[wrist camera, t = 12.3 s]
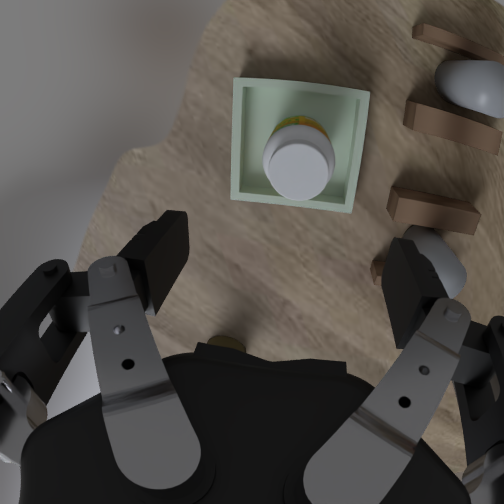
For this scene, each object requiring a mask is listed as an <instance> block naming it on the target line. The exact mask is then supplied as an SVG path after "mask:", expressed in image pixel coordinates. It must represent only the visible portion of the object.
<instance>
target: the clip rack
mask: <svg viewBox="0 0 504 504" xmlns="http://www.w3.org/2000/svg"><path fill="white" fill-rule="evenodd" d="M412 38H414V39H417V40H420V41H424V42H427V43H430V44H433V45H436V46H439V47H442V48H445V49H447V50H450V51H453V52H455V53H458V54H461V55H463V56H466V57H468V58H471V59H473V60H482V61H496V62H499V63H501V64H502V65H504V56H502V55H500V54H499V53H497V52H494V51H492V50H490V49H488V48H486V47H484V46H482V45H480V44H477V43H475V42H473V41H471V40H468V39H466V38H463V37H461V36H459V35H456V34H453V33H451V32H448V31H446V30H443V29H440V28H437V27H434V26H431V25H428V24H425V23H422V24H420V25H417V26H414V27H413V30H412ZM403 125H404V126H406V127H408V128H410V129H412V130H414V131H418V132H422V133H426V134H430V135H434V136H438V137H441V138H445V139H448V140H452V141H455V142H458V143H462V144H465V145H468V146H471V147H474V148H477V149H480V150H483V151H486V152H489V153H492V154H495V155H497V156H498V152H499V147H500V143H501V138H502V132H501V131H499V130H497V129H494V128H492V127H490V126H487V125H484V124H482V123H479V122H476V121H474V120H471V119H468V118H465V117H462V116H459V115H456V114H453V113H450V112H447V111H444V110H440V109H437V108H433V107H430V106H426V105H423V104H419V103H415V102H411V101H407V100H406V107H405V114H404V121H403ZM386 209H387V211H388V212H389V214H390V216H391V218H392V220H393V221H395V222H401V223H407V224H413V225H419V226H425V227H431V228H437V229H442V230H448V231H453V232H459V233H464V234H469V235H474V233H475V231H476V228H477V225H478V222H479V219H480V216H481V214H480V213H479V212H478V211H477V210H476V209H475V208H474V207H473V206H472V205H471V204H470V203H469V202H465V201H461V200H456V199H452V198H447V197H443V196H438V195H434V194H429V193H424V192H419V191H414V190H409V189H404V188H398V187H393V186H391V191H390V195H389V199H388V204H387V208H386ZM384 265H385V262H382V261H374V260H373V261H372V264H371V268H370V271H371V274H372V278H373V282H374V285H380V286H381V277H382V272H383V268H384Z"/></svg>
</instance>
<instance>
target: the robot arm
mask: <svg viewBox="0 0 504 504" xmlns="http://www.w3.org/2000/svg"><path fill="white" fill-rule="evenodd" d="M188 256H189V232H188V217H187V213H186V212H185V211H174V210H166V211H165V212H164V214H163V215H162V216H161V217H160V218H159V219H158V220H157V221H152V222H150V223H149V224H147V225H145V226H143V227H142V228H141V229H140V231H139V232H138V233H137V235H135V236H134V237H133V238H132V240H130V241H129V242H128V243H127V245H126V246H125V247H124V248H123V249H122V250H121V251H120V252H119V253H118V255H117V256H108V257H103V258H101V259H98V260H96V261H95V262H93V263H92V264H91V265H90V267H89V268H88V271H84V272H70V269H69V266H68V263H67V262H66V261H64V260H61V259H55V260H51V261H48V262H46V263H43V264H42V265H40V266H39V267H38V268H37V269H36V270H35V271H34V272H33V273H32V274H31V275H30V276H29V277H28V279H27V280H26V281H25V282H24V283H23V284H22V285H21V286H20V287H19V288H18V290H17V291H16V292H15V293H14V294H13V295H12V296H11V298H10V299H9V300H8V301H7V302H6V303H5V305H4V306H3V307H2V308H1V310H0V459H1V460H2V461H4V462H7V463H15V464H16V465H18V466H19V467H20V468H21V490H20V500H19V504H504V317H503V316H494V317H493V318H492V319H491V320H490V322H489V324H488V325H487V326H485V325H482V324H480V323H477V322H474V321H471V316H470V313H469V311H468V310H467V308H466V307H465V306H464V305H463V304H461V303H460V302H458V301H456V300H454V299H451V298H449V296H448V294H447V292H446V290H445V288H444V286H443V284H442V282H441V280H440V279H439V276H438V274H437V272H436V270H435V268H434V266H433V264H432V262H431V261H430V260H429V259H428V258H427V257H426V256H425V255H423V254H420V252H419V250H418V249H417V247H416V245H415V243H414V241H413V240H410V239H403V238H396V237H395V238H394V239H393V240H392V242H391V246H390V249H389V252H388V256H387V259H386V262H385V265H384V268H383V272H382V277H381V286H382V290H383V294H384V298H385V302H386V305H387V309H388V313H389V318H390V322H391V326H392V330H393V335H394V339H395V344H396V349H403V351H402V352H401V354H400V355H399V357H398V358H397V359H396V361H395V362H394V364H393V365H392V366H391V368H390V369H389V370H388V372H387V373H386V374H385V376H384V377H383V378H382V380H381V381H380V382H379V384H378V385H377V386H376V387H373V386H372V385H371V384H369V383H368V382H366V381H364V380H362V379H361V378H359V377H356V376H354V375H351V374H348V373H347V368H346V362H342V361H330V360H319V359H301V360H290V361H277V362H271V361H267V360H264V359H261V358H258V357H255V356H253V355H250V354H247V353H245V352H242V351H239V350H237V349H234V348H229V347H223V346H217V345H211V344H206V343H200V342H198V343H197V346H196V349H195V351H194V352H193V353H182V354H176V355H172V356H169V357H166V358H163V359H161V356H160V354H159V351H158V349H157V346H156V343H155V341H154V338H153V335H152V333H151V330H150V327H149V324H148V321H147V318H146V316H145V314H147V315H152V316H156V314H157V312H158V311H159V309H160V307H161V305H162V304H163V302H164V300H165V298H166V296H167V295H168V293H169V291H170V290H171V288H172V286H173V284H174V283H175V281H176V279H177V277H178V276H179V274H180V272H181V271H182V269H183V267H184V265H185V264H186V262H187V260H188ZM48 313H49V314H50V316H51V318H52V320H53V321H52V323H51V324H50V326H49V327H48V328H47V330H46V331H45V333H44V334H43V336H42V337H41V338H39V332H38V331H39V326H40V324H41V322H42V321H43V319H44V318H45V317H46V315H47V314H48ZM87 332H90V335H91V341H92V348H93V354H94V360H95V366H96V370H97V376H98V381H99V386H100V391H101V393H99V394H97V395H95V396H93V397H91V398H89V399H88V400H86V401H84V402H82V403H80V404H78V405H76V406H74V407H72V408H71V409H68V410H67V411H65V412H63V413H61V414H59V415H57V416H55V417H53V418H51V419H49V420H47V408H46V405H47V404H48V402H49V400H50V398H51V396H52V394H53V392H54V390H55V388H56V386H57V385H58V383H59V381H60V379H61V377H62V376H63V374H64V372H65V370H66V368H67V367H68V365H69V363H70V361H71V359H72V358H73V356H74V354H75V353H76V351H77V349H78V348H79V346H80V344H81V342H82V341H83V339H84V337H85V336H86V334H87ZM450 380H452V383H453V386H454V390H455V394H456V398H457V402H458V406H459V410H460V416H461V422H462V428H463V435H464V442H465V450H466V459H467V468H466V469H465V471H464V473H463V476H462V482H461V481H460V480H459V478H458V477H457V476H456V475H455V474H454V473H453V472H452V471H451V470H450V469H449V467H448V466H447V465H446V464H445V463H444V462H443V461H442V460H441V459H440V458H439V456H438V455H437V454H436V453H435V452H434V451H433V450H432V449H431V448H430V447H429V445H428V444H427V443H426V442H425V441H424V440H423V439H422V438H421V436H422V434H423V433H424V431H425V429H426V428H427V426H428V424H429V422H430V420H431V419H432V417H433V415H434V413H435V411H436V409H437V407H438V405H439V403H440V401H441V399H442V397H443V395H444V393H445V391H446V389H447V387H448V385H449V383H450ZM46 420H47V421H46Z"/></svg>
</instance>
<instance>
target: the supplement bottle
mask: <svg viewBox="0 0 504 504" xmlns="http://www.w3.org/2000/svg"><path fill="white" fill-rule="evenodd" d="M262 162H263V168H264V171H265V174H266V176H267V178H268V179H269V180H270V182H271V184H272V186H273V188H274V189H275V190H276V191H277V192H278V193H279V194H280V195H282V196H283V197H285V198H288V199H291V200H296V201H303V200H308V199H311V198H313V197H315V196H317V195H318V194H319V193H321V192H322V190H323V189H324V188H325V186H326V184H327V183H328V182H329V180H330V179H331V177H332V175H333V172H334V169H335V153H334V149H333V147H332V144H331V142H330V139H329V137H328V134H327V132H326V130H325V129H324V128H323V126H322V125H321V124H320V123H319V122H318V121H316V120H315V119H313V118H311V117H308V116H303V115H295V116H290V117H288V118H285V119H284V120H282V121H281V122H280V123H279V124H278V125H277V126H276V127H275V129H274V130H273V132H272V134H271V136H270V137H269V139H268V141H267V143H266V145H265V148H264V151H263V156H262Z"/></svg>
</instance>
